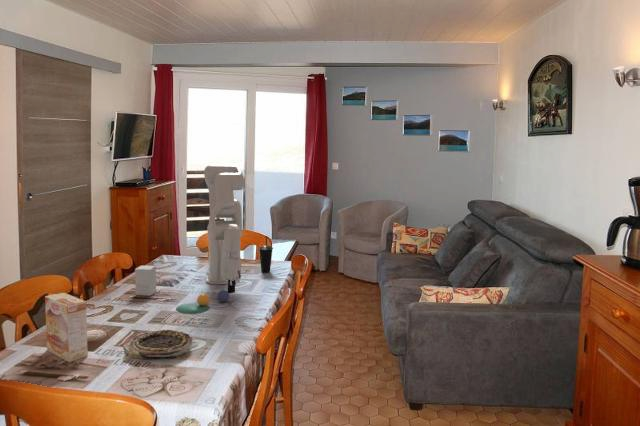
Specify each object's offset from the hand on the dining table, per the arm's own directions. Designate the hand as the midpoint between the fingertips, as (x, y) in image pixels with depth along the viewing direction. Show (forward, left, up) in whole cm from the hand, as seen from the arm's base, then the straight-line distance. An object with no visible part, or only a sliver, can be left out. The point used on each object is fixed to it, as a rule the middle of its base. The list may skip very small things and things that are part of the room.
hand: (231, 292), depth 255 cm
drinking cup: (-27, +45, -3) cm, 52 cm away
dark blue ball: (+2, -6, 0) cm, 6 cm away
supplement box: (-32, -25, -3) cm, 41 cm away
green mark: (+1, -21, -3) cm, 22 cm away
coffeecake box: (+14, -80, -3) cm, 82 cm away
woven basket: (+33, -55, -4) cm, 64 cm away
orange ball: (+1, -16, 0) cm, 16 cm away
